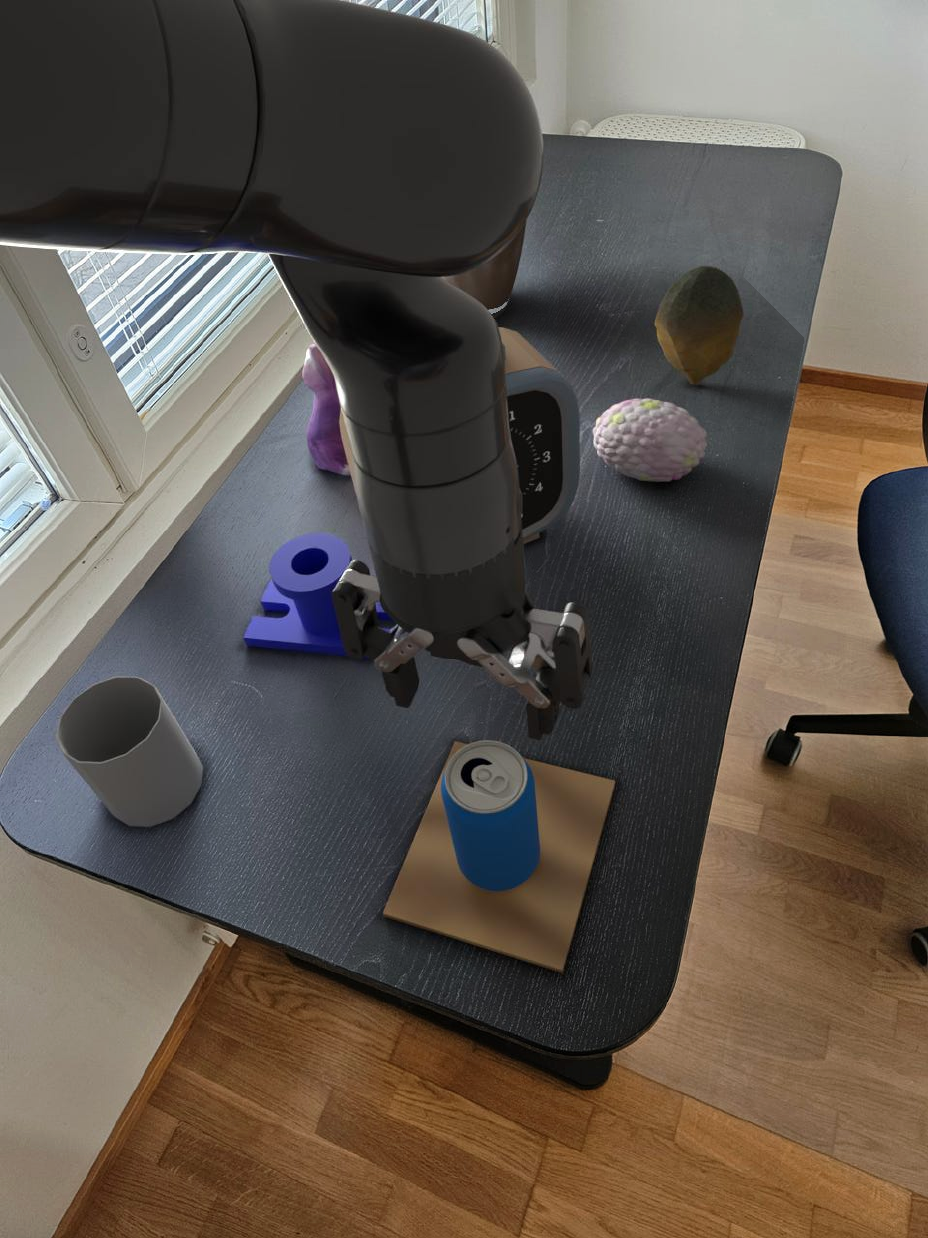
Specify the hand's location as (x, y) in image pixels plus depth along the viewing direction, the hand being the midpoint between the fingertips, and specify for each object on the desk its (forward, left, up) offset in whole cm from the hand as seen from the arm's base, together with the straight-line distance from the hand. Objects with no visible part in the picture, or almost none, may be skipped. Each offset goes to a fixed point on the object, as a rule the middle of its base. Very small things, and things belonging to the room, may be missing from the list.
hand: (473, 712), depth 54 cm
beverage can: (0, 0, -20) cm, 20 cm away
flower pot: (+78, +28, -20) cm, 85 cm away
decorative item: (+49, -1, -20) cm, 53 cm away
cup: (-2, +31, -20) cm, 37 cm away
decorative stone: (+65, -3, -20) cm, 68 cm away
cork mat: (+1, 0, -20) cm, 20 cm away
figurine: (+44, +34, -20) cm, 59 cm away
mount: (+19, +24, -20) cm, 37 cm away
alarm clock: (+34, +14, -20) cm, 42 cm away
